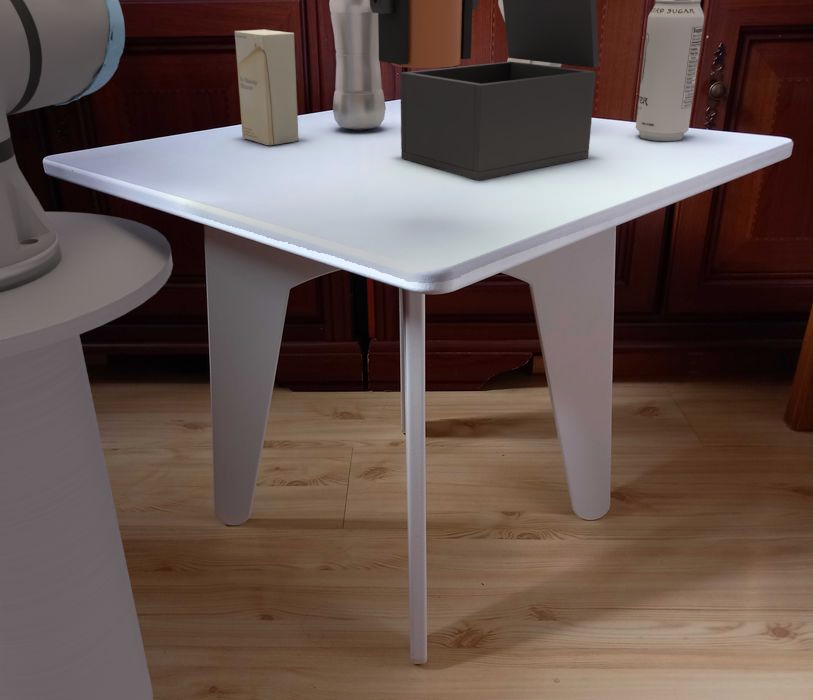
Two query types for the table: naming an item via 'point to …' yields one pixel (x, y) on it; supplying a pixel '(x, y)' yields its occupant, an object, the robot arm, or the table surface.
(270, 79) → the cosmetic box
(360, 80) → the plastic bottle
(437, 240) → the table surface
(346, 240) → the table surface
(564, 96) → the open lidded box
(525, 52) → the box lid
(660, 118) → the energy drink can
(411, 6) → the orange cylinder
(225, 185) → the table surface
